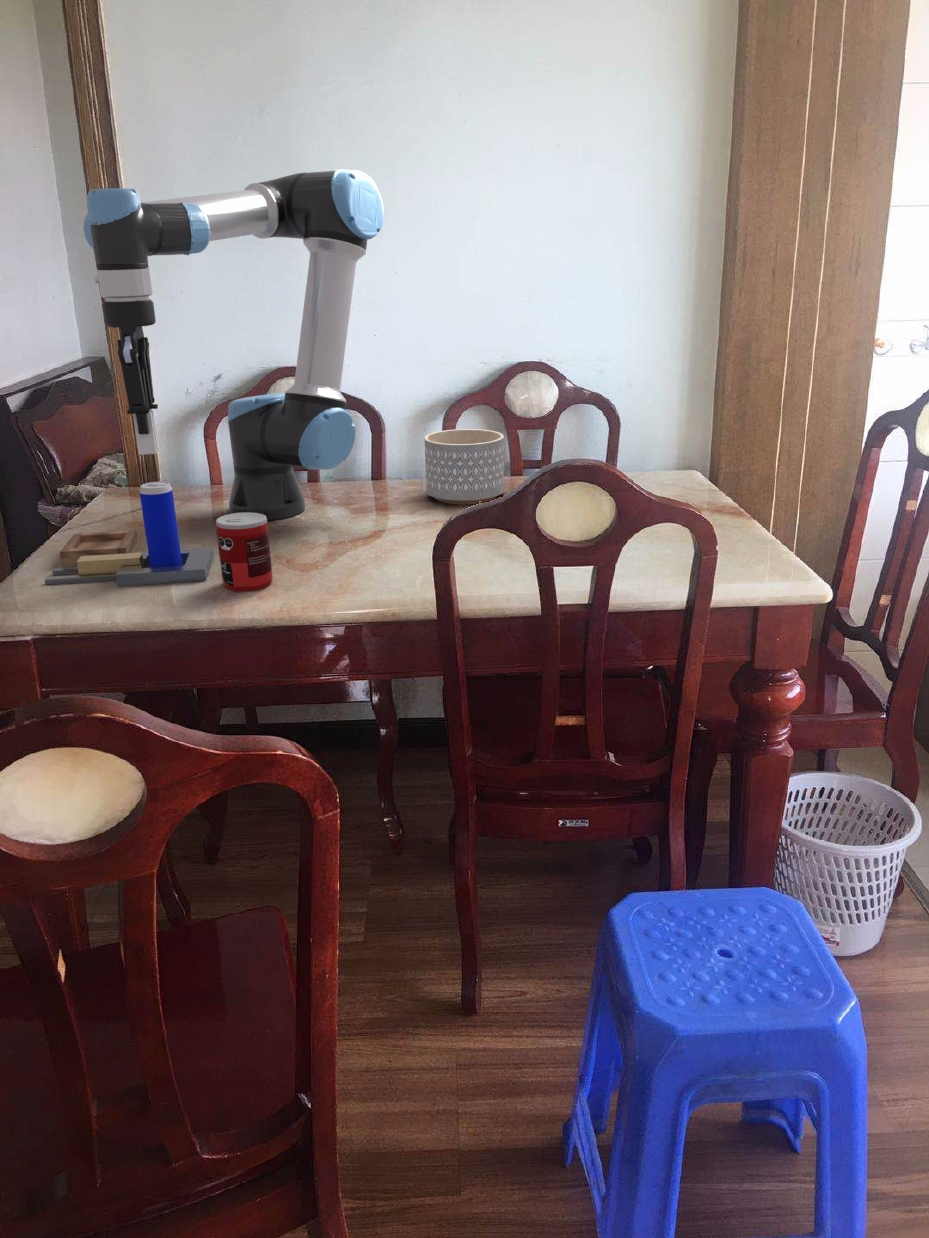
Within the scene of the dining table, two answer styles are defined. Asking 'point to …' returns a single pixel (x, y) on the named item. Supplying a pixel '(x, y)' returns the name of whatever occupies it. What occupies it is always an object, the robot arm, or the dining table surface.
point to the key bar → (107, 563)
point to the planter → (464, 465)
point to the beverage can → (160, 524)
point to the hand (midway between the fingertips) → (148, 452)
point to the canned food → (244, 551)
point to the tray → (98, 545)
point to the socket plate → (148, 571)
